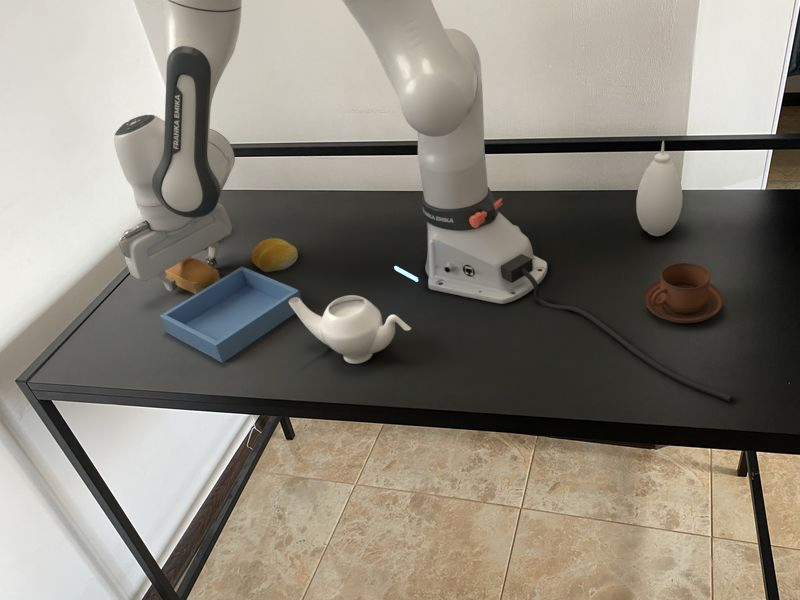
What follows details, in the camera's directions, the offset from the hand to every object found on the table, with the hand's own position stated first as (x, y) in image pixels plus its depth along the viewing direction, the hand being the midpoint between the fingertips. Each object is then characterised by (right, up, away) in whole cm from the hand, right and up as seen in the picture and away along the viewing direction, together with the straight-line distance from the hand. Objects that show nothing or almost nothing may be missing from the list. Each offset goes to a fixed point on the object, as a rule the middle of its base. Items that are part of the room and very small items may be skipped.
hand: (193, 276), depth 139 cm
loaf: (0, -1, +1) cm, 2 cm away
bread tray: (+11, -9, -11) cm, 18 cm away
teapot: (+34, -14, -21) cm, 42 cm away
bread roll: (+14, +3, +4) cm, 15 cm away
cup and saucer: (+86, -7, -20) cm, 88 cm away
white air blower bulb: (+86, +8, -2) cm, 87 cm away
